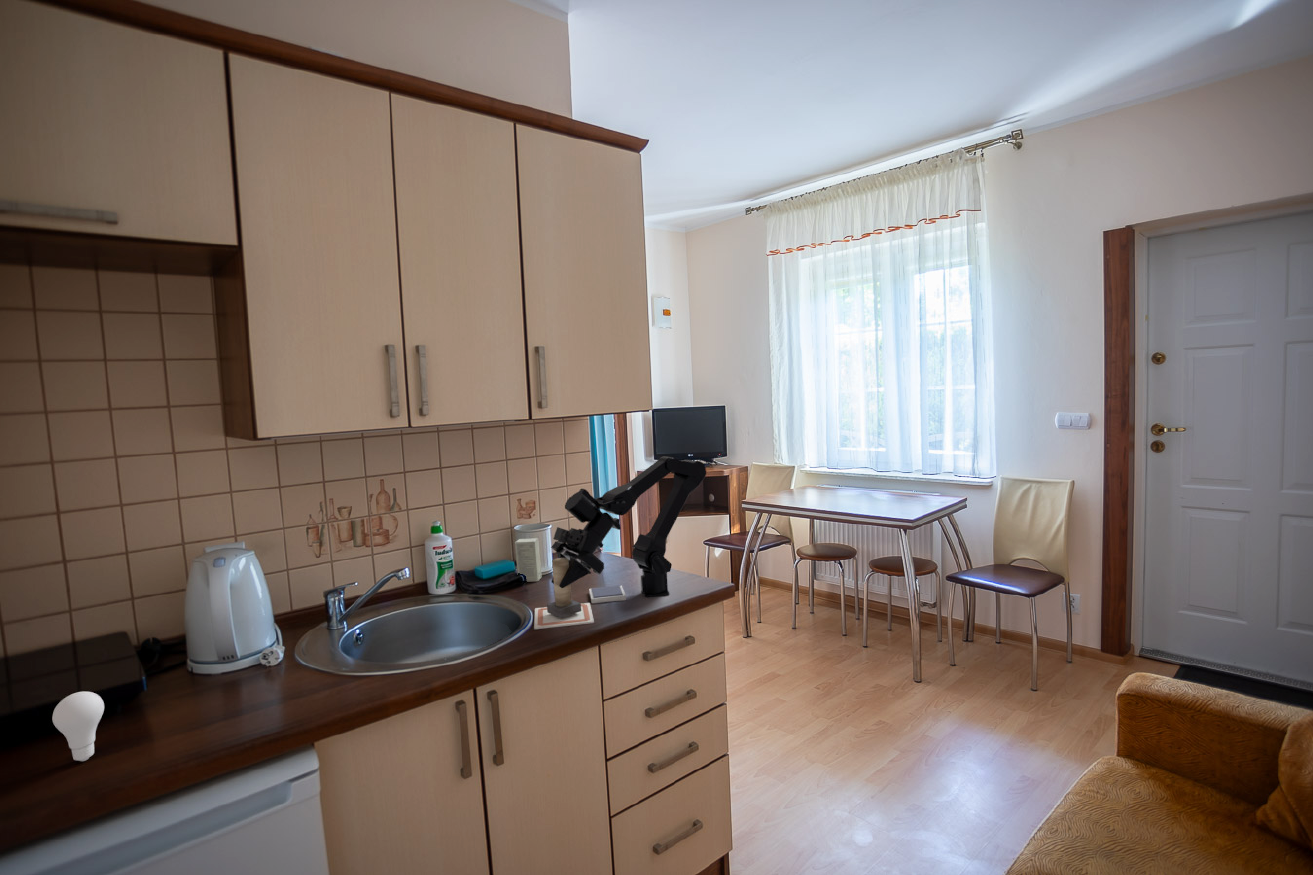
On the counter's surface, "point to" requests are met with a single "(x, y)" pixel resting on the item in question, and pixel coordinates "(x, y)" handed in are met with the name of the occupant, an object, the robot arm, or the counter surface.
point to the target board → (549, 620)
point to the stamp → (562, 592)
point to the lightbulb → (79, 722)
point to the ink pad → (607, 594)
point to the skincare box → (528, 558)
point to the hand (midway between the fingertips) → (556, 585)
